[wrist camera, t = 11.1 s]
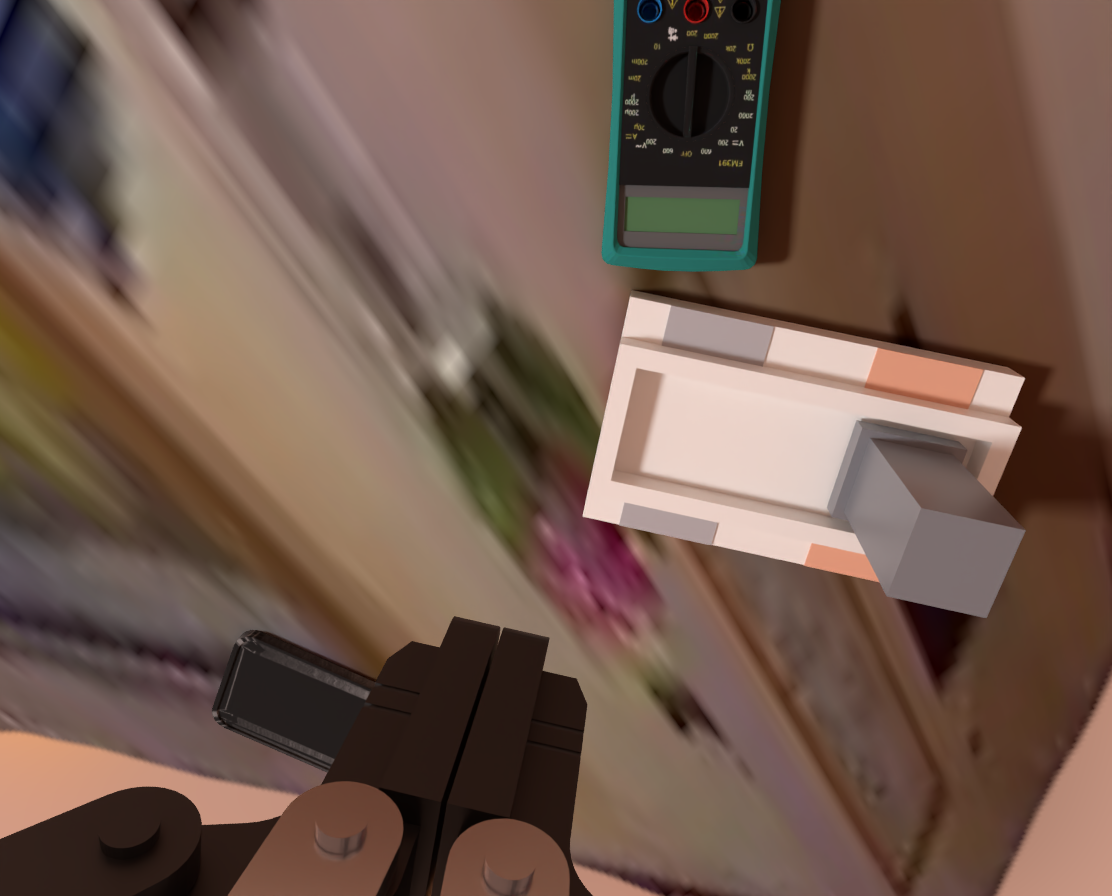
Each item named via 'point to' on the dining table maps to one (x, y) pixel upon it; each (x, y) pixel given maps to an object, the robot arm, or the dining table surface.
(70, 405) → the dining table surface
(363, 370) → the dining table surface
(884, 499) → the slider tab
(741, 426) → the switch housing
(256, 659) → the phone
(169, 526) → the dining table surface
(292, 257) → the dining table surface
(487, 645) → the robot arm
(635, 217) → the digital multimeter
